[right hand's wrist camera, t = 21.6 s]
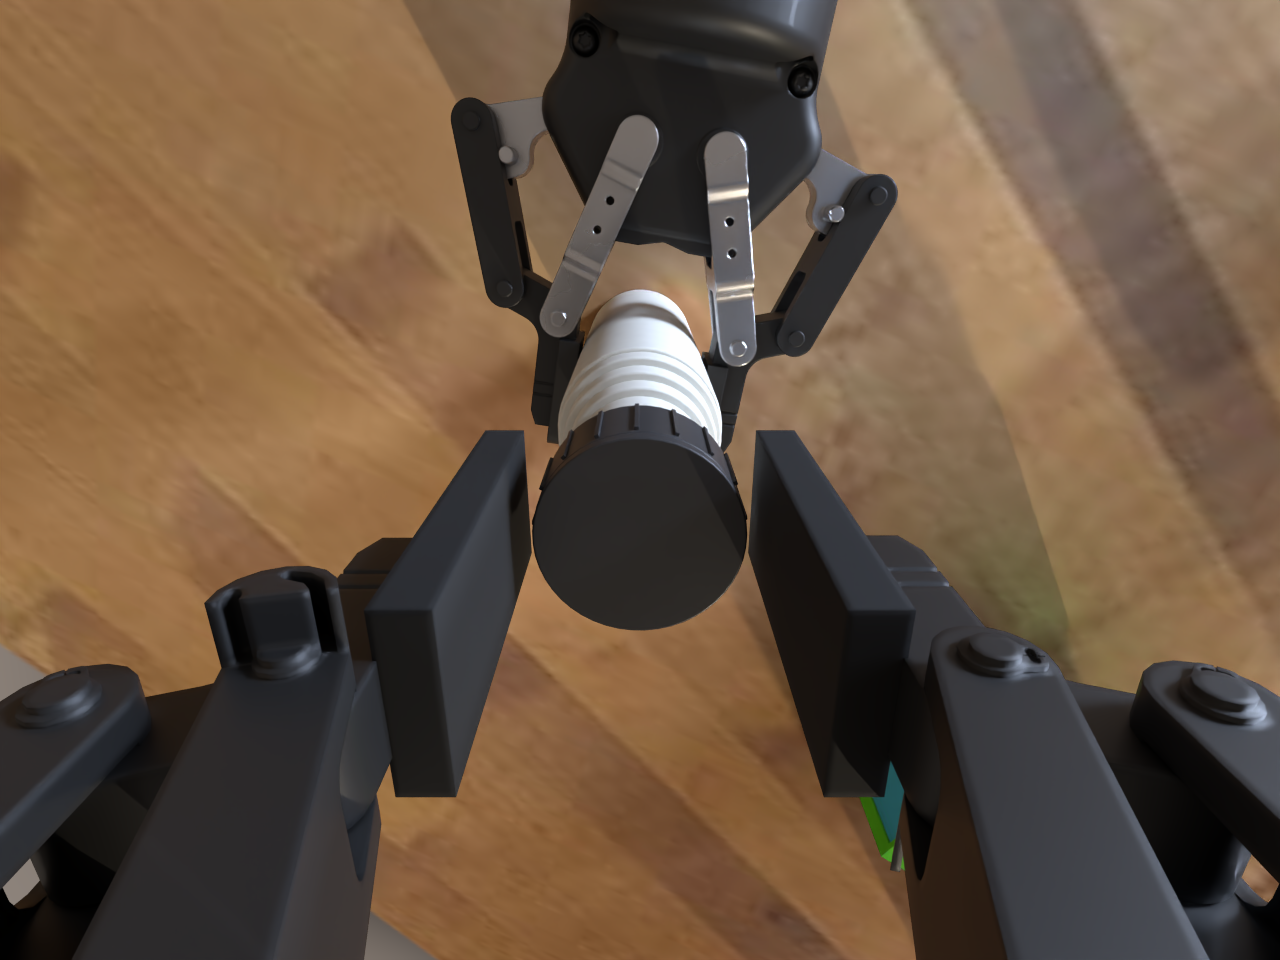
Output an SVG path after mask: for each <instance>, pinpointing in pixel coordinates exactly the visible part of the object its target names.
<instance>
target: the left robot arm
mask: <svg viewBox="0 0 1280 960" xmlns="http://www.w3.org/2000/svg"><path fill="white" fill-rule="evenodd" d="M836 5H837V0H571V4H570V13H569V23H568V32H567V40H566V46H565V50H564V53H563V56H562V59H561V61H560V63H559V65H558V67H557V69H556V71H555V72H554V74H553V75H552V77H551V78H550V80H549V81H548V83H547V85H546V87H545V90H544V93H543V97H537V98H530V99H523V100H517V101H510V102H503V103H496V104H485V103H483V102H482V101H480V100H478V99H476V98H470V97H469V98H464V99H462V100H460V101H458V102H457V103H456V105H455V106H454V108H453V110H452V113H451V124H452V129H453V134H454V139H455V144H456V149H457V153H458V158H459V163H460V168H461V173H462V178H463V183H464V187H465V192H466V197H467V202H468V207H469V212H470V216H471V221H472V226H473V231H474V236H475V241H476V246H477V250H478V255H479V260H480V265H481V270H482V275H483V280H484V284H485V289H486V293H487V296H488V298H489V299H490V300H491V301H492V302H493V303H494V304H495V305H497V306H499V307H503V308H509V309H511V310H513V311H514V312H516V313H518V314H520V315H522V316H523V317H525V318H527V319H528V320H529V321H531V322H532V324H533V325H534V326H535V328H536V330H537V333H538V338H539V342H538V351H537V360H536V369H535V378H534V387H533V396H532V405H531V411H532V415H533V418H534V422H535V424H537V425H544V426H549V427H548V436H547V442H548V443H554V444H559V439H558V417H559V411H560V406H561V403H562V400H563V397H564V395H565V392H566V389H567V387H568V384H569V382H570V379H571V377H572V374H573V372H574V369H575V367H576V364H577V362H578V359H579V357H580V354H581V351H582V349H583V342H584V335H585V332H583V331H579V329H580V321H581V315H582V313H583V311H584V309H585V306H586V304H587V302H588V300H589V298H590V296H591V293H592V291H593V289H594V287H595V285H596V282H597V280H598V278H599V276H600V274H601V272H602V269H603V267H604V265H605V263H606V261H607V259H608V256H609V254H610V252H611V250H612V248H613V246H614V243H615V241H619V242H624V243H630V244H636V245H641V244H651V243H661V242H664V243H667V244H669V245H671V246H673V247H675V248H677V249H679V250H682V251H684V252H686V253H688V254H693V255H699V256H704V263H705V274H706V282H707V287H708V294H709V304H710V315H711V325H712V341H711V346H710V351H709V353H707V352H703V353H702V358H701V359H702V362H703V365H704V367H705V370H706V372H707V375H708V377H709V380H710V383H711V385H712V388H713V390H714V393H715V395H716V398H717V400H718V403H719V407H720V411H721V420H722V433H721V446H720V448H721V450H722V451H723V453H724V451H725V450H726V449H727V447H728V446H729V444H730V443H731V441H732V436H733V432H734V426H735V423H736V418H737V413H738V409H739V405H740V400H741V396H742V391H743V387H744V383H745V378H746V375H747V372H748V370H749V369H750V367H751V366H752V365H753V364H754V363H755V362H757V361H759V360H761V359H763V358H768V357H773V356H779V355H784V354H786V355H788V356H791V357H798V356H801V355H804V354H805V353H807V352H808V351H809V350H810V349H811V347H812V346H813V344H814V342H815V340H816V339H817V337H818V335H819V334H820V332H821V330H822V328H823V327H824V325H825V323H826V322H827V320H828V318H829V316H830V315H831V313H832V311H833V310H834V308H835V306H836V304H837V303H838V301H839V299H840V298H841V296H842V294H843V292H844V291H845V289H846V287H847V286H848V284H849V282H850V280H851V279H852V277H853V275H854V274H855V272H856V270H857V268H858V267H859V265H860V263H861V262H862V260H863V258H864V256H865V255H866V253H867V251H868V249H869V248H870V246H871V244H872V243H873V241H874V239H875V237H876V236H877V234H878V232H879V231H880V229H881V227H882V225H883V224H884V222H885V220H886V219H887V217H888V215H889V213H890V212H891V210H892V208H893V207H894V205H895V203H896V200H897V195H898V191H897V186H896V184H895V182H894V181H893V179H891V178H890V177H889V176H887V175H883V174H866V173H864V172H862V171H860V170H858V169H857V168H855V167H853V166H851V165H850V164H848V163H846V162H844V161H843V160H841V159H839V158H837V157H836V156H834V155H832V154H830V153H829V152H827V151H825V150H823V149H822V148H821V147H822V136H821V130H820V127H819V123H818V118H817V111H816V96H817V89H818V84H819V80H820V75H821V71H822V66H823V62H824V58H825V53H826V49H827V44H828V40H829V35H830V31H831V27H832V22H833V18H834V13H835V9H836ZM546 134H550V136H551V138H552V140H553V142H554V144H555V146H556V148H557V150H558V152H559V155H560V157H561V159H562V161H563V163H564V165H565V167H566V169H567V171H568V173H569V175H570V177H571V179H572V181H573V183H574V185H575V187H576V189H577V191H578V193H579V195H580V197H581V199H582V201H583V203H584V205H585V207H584V210H583V212H582V214H581V217H580V219H579V221H578V224H577V226H576V228H575V231H574V233H573V235H572V237H571V240H570V242H569V244H568V247H567V249H566V252H565V254H564V257H563V260H562V263H561V265H560V268H559V270H558V272H557V275H556V277H555V279H554V282H553V283H551V282H550V281H548V280H546V279H544V278H543V277H541V276H539V275H537V274H536V273H534V272H533V269H532V264H531V258H530V253H529V247H528V242H527V236H526V231H525V225H524V219H523V214H522V208H521V203H520V197H519V192H518V186H517V181H516V179H518V178H522V177H524V176H526V175H527V174H528V173H529V172H530V171H531V169H532V167H533V164H534V148H535V145H536V143H537V142H538V140H539V139H540V138H541V137H542V136H544V135H546ZM802 181H804V182H805V183H806V184H807V186H808V188H809V192H810V201H809V204H808V207H807V210H806V220H807V223H808V225H809V227H810V228H811V229H812V230H814V231H815V233H814V235H813V237H812V238H811V240H810V242H809V244H808V246H807V247H806V249H805V251H804V253H803V255H802V257H801V258H800V260H799V262H798V264H797V266H796V267H795V269H794V271H793V273H792V275H791V277H790V278H789V280H788V282H787V284H786V286H785V287H784V289H783V291H782V293H781V295H780V297H779V298H778V300H777V302H776V304H775V306H774V307H773V309H772V311H771V313H766V314H761V315H756V316H754V302H753V291H754V270H753V256H752V242H751V232H752V231H753V230H754V229H755V228H756V227H757V226H758V225H759V224H760V223H761V222H762V221H763V220H764V219H765V218H766V217H767V216H768V215H769V214H770V213H771V212H772V211H773V210H774V209H775V208H776V207H777V206H778V205H779V204H780V203H781V202H782V201H783V200H784V199H785V198H786V197H787V196H788V195H789V194H790V193H791V192H792V191H793V190H794V189H795V188H796V187H797V186H798V185H799V184H800V183H801V182H802Z"/></svg>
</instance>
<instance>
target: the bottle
mask: <svg viewBox="0 0 1280 960" xmlns="http://www.w3.org/2000/svg"><path fill="white" fill-rule="evenodd" d="M635 403H639V405H648V406H655V407H661V408H665V409H668V410H672V409H675V410H676V412H677V413H679V414H682V415H684V416H686V417H688V418H689V419H691V420H693V421H694V422H696V423H697V424H698V425H700V426H701V427H702V428H703V427H704V426H705V427H706V428H707V430H708V433H709V434H710V435H711V436H712V437H713V438H714V440H715V441H716V442H717V444H718V445H719V446H721V433H722V420H721V411H720V407H719V403H718V400H717V398H716V395H715V393H714V390H713V388H712V385H711V383H710V380H709V377H708V375H707V372H706V370H705V367H704V365H703V362H702V359H701V357H700V354H699V352H698V349H697V347H696V344H695V341H694V339H693V336H692V334H691V331H690V329H689V326H688V324H687V321H686V319H685V317H684V315H683V313H682V312H681V310H680V309H679V308H678V306H677V305H676V304H675V303H674V302H672V301H671V300H670V299H669V298H667V297H665V296H663V295H662V294H659V293H657V292H653V291H650V290H631V291H627V292H623V293H621V294H619V295H616V296H615V297H613V298H612V299H610V300H609V301H608V302H607V303H605V304H604V306H603V307H602V308H601V309H600V310H599V312H598V313H597V315H596V317H595V319H594V321H593V324H592V326H591V329H590V331H589V334H588V336H587V339H586V341H585V344H584V346H583V349H582V351H581V354H580V357H579V359H578V362H577V364H576V367H575V369H574V372H573V374H572V377H571V379H570V382H569V384H568V387H567V389H566V392H565V395H564V397H563V400H562V403H561V406H560V411H559V417H558V439H559V447H560V446H561V444H562V443H563V442H564V440H565V439H566V438H567V435H568V432H569V431H570V430H571V429H572V430H573V431H574V430H575V429H576V428H577V427H578V426H580V425H581V424H582V423H584V422H585V421H587V420H588V419H590V418H592V417H594V416H596V415H597V414H598V412H599V411H603V412H605V411H608V410H611V409H615V408H619V407H624V406H633V405H635Z"/></svg>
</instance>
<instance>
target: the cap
mask: <svg viewBox="0 0 1280 960" xmlns="http://www.w3.org/2000/svg"><path fill="white" fill-rule="evenodd" d="M737 485H738V483H737V480H736V477H735V474H734V471H733V468H732V465H731V462H730V460H729V457H728V454H727V453H725V454H724V453H723V451H722V450H721V448H720V446H719V445H718V444H717V442H716V441H715V440H714V438H713V437H712V436H711V435H710V434H709V433H708V430H707V428H706V427H705V426H704V427H703V428H702V427H701V426H700V425H698V424H697V423H696V422H694V421H693V420H691V419H689V418H688V417H686V416H684V415H682V414H679V413H677V412H676V410H675V409H672V410H668V409H665V408H661V407H655V406H648V405H639V403H635V405H633V406H624V407H619V408H615V409H611V410H608V411H605V412H603V411H599V412H598V414H597V415H596V416H594V417H592V418H590V419H588V420H587V421H585V422H584V423H582V424H581V425H580V426H578V427H577V428H576V429H575V430H574V431H573V430H572V429H571V430H570V431H569V432H568V435H567V438H566V439H565V440H564V442H563V443H562V444H561V446H560V447H559V449H558V451H557V452H556V454H555V456H554V458H550V460H549V462H548V465H547V468H546V471H545V474H544V476H543V479H542V482H541V485H540V488H539V489H540V490H542V492H541V495H540V498H539V501H538V504H537V507H536V511H535V514H534V517H533V520H532V525H533V529H532V537H533V547H534V553H535V557H536V560H537V563H538V566H539V568H540V570H541V572H542V574H543V576H544V578H545V580H546V581H547V583H548V584H549V586H550V587H551V589H552V590H553V591H554V592H555V593H556V594H557V596H558V597H559V598H560V599H561V600H562V601H563V602H565V603H566V604H567V605H568V606H569V607H570V608H572V609H573V610H575V611H576V612H578V613H579V614H581V615H582V616H584V617H586V618H588V619H590V620H592V621H595V622H598V623H600V624H603V625H606V626H610V627H614V628H618V629H626V630H653V629H661V628H665V627H670V626H673V625H676V624H679V623H682V622H685V621H687V620H689V619H691V618H693V617H695V616H697V615H698V614H700V613H702V612H703V611H705V610H706V609H708V608H709V607H710V606H711V605H713V604H714V603H715V602H716V601H717V600H718V599H719V598H720V597H721V596H722V595H723V594H724V593H725V592H726V590H727V589H728V588H729V586H730V585H731V584H732V582H733V581H734V579H735V577H736V575H737V573H738V571H739V569H740V567H741V564H742V561H743V558H744V554H745V550H746V543H747V524H746V520H747V514H746V511H745V508H744V506H743V503H742V500H741V497H740V494H739V491H738V488H737Z"/></svg>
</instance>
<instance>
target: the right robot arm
mask: <svg viewBox="0 0 1280 960" xmlns="http://www.w3.org/2000/svg"><path fill="white" fill-rule="evenodd" d="M531 553H532V550H531V535H530V519H529V504H528V488H527V473H526V457H525V442H524V430H486V431H485V432H484V434H483V435H482V437H481V438H480V440H479V441H478V442H477V444H476V445H475V447H474V448H473V450H472V451H471V453H470V454H469V456H468V457H467V459H466V460H465V462H464V463H463V465H462V466H461V468H460V469H459V470H458V472H457V473H456V475H455V476H454V478H453V479H452V481H451V482H450V484H449V485H448V487H447V488H446V490H445V491H444V493H443V494H442V496H441V497H440V499H439V500H438V501H437V503H436V504H435V506H434V507H433V509H432V510H431V512H430V513H429V515H428V516H427V518H426V519H425V521H424V522H423V524H422V525H421V527H420V528H419V529H418V531H417V532H416V534H415V535H414V537H413V538H382V539H380V540H378V541H377V542H375V543H373V544H372V545H370V546H368V547H367V548H365V549H363V550H362V551H360V552H358V553H357V554H356V556H355V557H354V558H353V559H352V561H351V562H350V563H349V564H348V565H347V567H346V568H345V569H344V570H343V574H340V575H339V577H338V578H337V577H335V576H334V575H333V574H331V573H330V572H329V571H327V570H325V569H320V568H315V567H311V566H287V567H281V568H275V569H270V570H264V571H260V572H257V573H254V574H251V575H248V576H246V577H243V578H240V579H237V580H235V581H233V582H232V583H230V584H228V585H226V586H224V587H223V588H221V589H219V590H217V591H216V592H215V593H214V594H213V595H212V596H211V597H210V598H209V599H208V600H207V601H206V602H205V603H204V604H205V608H206V612H207V615H208V619H209V623H210V626H211V630H212V634H213V638H214V641H215V645H216V649H217V653H218V656H219V660H220V664H221V667H222V668H221V670H220V672H219V674H218V676H217V678H216V680H215V682H214V683H213V684H209V685H205V686H201V687H196V688H190V689H185V690H180V691H175V692H170V693H165V694H160V695H154V696H149V697H145V695H144V692H143V689H142V686H141V683H140V680H139V677H138V675H137V674H136V673H135V672H133V671H132V670H131V669H130V668H128V667H126V666H119V665H112V664H102V665H92V666H80V667H75V668H70V669H68V670H67V671H65V670H62V671H59V672H56V673H53V674H50V675H48V676H46V677H44V678H43V679H41V680H39V681H36V682H34V683H32V684H30V685H27V686H25V687H23V688H21V689H19V690H18V691H16V692H15V693H13V694H11V695H10V696H8V697H7V698H5V699H4V700H2V701H0V960H364V955H365V947H366V939H367V932H368V924H369V916H370V908H371V900H372V893H373V885H374V877H375V869H376V861H377V854H378V846H379V838H380V830H381V818H380V811H379V805H378V800H377V794H376V793H377V791H378V789H379V786H380V784H381V782H382V780H383V778H384V775H385V773H386V771H387V769H388V766H389V764H390V767H391V773H392V779H393V785H394V791H395V796H396V797H456V796H457V792H458V789H459V786H460V783H461V779H462V776H463V773H464V770H465V766H466V763H467V760H468V757H469V754H470V750H471V747H472V744H473V741H474V737H475V734H476V731H477V728H478V724H479V721H480V718H481V715H482V712H483V708H484V705H485V702H486V699H487V695H488V692H489V689H490V686H491V682H492V679H493V676H494V673H495V670H496V666H497V663H498V660H499V657H500V653H501V650H502V647H503V644H504V640H505V637H506V634H507V631H508V628H509V624H510V621H511V618H512V615H513V611H514V608H515V605H516V602H517V598H518V595H519V592H520V589H521V586H522V582H523V579H524V576H525V573H526V569H527V566H528V563H529V560H530V556H531ZM748 553H749V556H750V560H751V563H752V566H753V569H754V573H755V576H756V579H757V582H758V586H759V589H760V592H761V595H762V598H763V602H764V605H765V608H766V611H767V615H768V618H769V621H770V624H771V628H772V631H773V634H774V637H775V640H776V644H777V647H778V650H779V653H780V657H781V660H782V663H783V666H784V670H785V673H786V676H787V679H788V682H789V686H790V689H791V692H792V695H793V699H794V702H795V705H796V708H797V712H798V715H799V718H800V721H801V724H802V728H803V731H804V734H805V737H806V741H807V744H808V747H809V750H810V754H811V757H812V760H813V763H814V766H815V770H816V773H817V776H818V779H819V783H820V786H821V789H822V792H823V796H824V797H885V791H886V785H887V779H888V773H889V767H890V761H891V763H892V765H893V767H894V769H895V772H896V774H897V776H898V778H899V780H900V783H901V785H902V787H903V789H904V794H903V800H902V805H901V811H900V816H899V822H898V827H897V832H896V838H895V843H894V849H893V854H892V861H891V868H890V870H892V871H897V872H900V869H901V864H902V858H903V860H904V868H905V875H906V883H907V891H908V899H909V906H910V914H911V922H912V930H913V937H914V945H915V953H916V960H1280V697H1279V696H1277V695H1275V694H1274V693H1272V692H1271V691H1269V690H1267V689H1266V688H1264V687H1263V686H1261V685H1259V684H1257V683H1255V682H1253V681H1250V680H1248V679H1246V678H1243V677H1241V676H1239V675H1237V674H1236V673H1235V672H1232V671H1230V670H1227V669H1223V668H1220V667H1217V668H1215V667H1213V665H1208V664H1203V663H1192V662H1182V661H1167V662H1160V663H1154V664H1152V665H1151V666H1150V667H1148V668H1147V669H1146V670H1145V671H1143V674H1142V677H1141V680H1140V683H1139V686H1138V689H1137V692H1136V694H1132V693H1127V692H1122V691H1117V690H1112V689H1106V688H1101V687H1096V686H1091V685H1086V684H1080V683H1076V682H1072V681H1068V680H1065V679H1064V677H1063V675H1062V673H1061V671H1060V669H1059V667H1058V666H1057V665H1056V664H1055V662H1054V661H1053V660H1052V659H1051V658H1050V656H1049V655H1048V654H1047V653H1046V652H1044V651H1043V650H1041V649H1040V648H1038V647H1037V646H1035V645H1034V644H1032V643H1031V642H1029V641H1027V640H1025V639H1023V638H1020V637H1018V636H1015V635H1013V634H1010V633H1008V632H1005V631H1001V630H996V629H992V628H987V627H985V626H984V625H983V624H982V623H981V621H980V620H979V619H978V618H977V617H976V615H975V614H974V613H973V612H972V610H971V609H970V608H969V607H968V605H967V604H966V603H965V602H964V601H963V599H962V598H961V597H960V596H959V594H958V593H957V592H956V591H955V590H954V588H953V587H952V586H949V582H948V581H947V580H946V578H945V577H944V576H943V575H942V574H941V572H940V571H937V567H936V566H935V565H934V564H933V562H932V561H931V560H930V559H929V558H928V556H927V555H926V554H925V553H924V551H923V550H921V549H919V548H918V547H916V546H914V545H913V544H911V543H909V542H908V541H906V540H904V539H903V538H901V537H899V536H866V535H865V534H864V532H863V531H862V529H861V528H860V527H859V525H858V524H857V522H856V521H855V519H854V518H853V516H852V515H851V513H850V512H849V510H848V509H847V507H846V506H845V504H844V503H843V501H842V500H841V498H840V497H839V496H838V494H837V493H836V491H835V490H834V488H833V487H832V485H831V484H830V482H829V481H828V479H827V478H826V476H825V475H824V473H823V472H822V470H821V469H820V468H819V466H818V465H817V463H816V462H815V460H814V459H813V457H812V456H811V454H810V453H809V451H808V450H807V448H806V447H805V445H804V444H803V442H802V441H801V439H800V438H799V437H798V435H797V434H796V432H795V431H794V430H756V442H755V458H754V473H753V488H752V504H751V519H750V535H749V550H748ZM1251 854H1252V855H1253V856H1254V857H1255V858H1256V859H1257V860H1258V862H1259V863H1260V864H1261V865H1262V866H1263V867H1264V868H1265V869H1266V870H1267V871H1268V872H1269V873H1270V874H1271V875H1272V876H1273V877H1274V878H1275V880H1276V881H1277V882H1278V883H1279V885H1278V888H1277V890H1276V892H1275V894H1274V896H1273V898H1272V899H1271V901H1270V902H1269V903H1268V902H1265V901H1264V900H1263V899H1262V898H1261V897H1259V896H1258V895H1257V894H1256V893H1255V892H1254V891H1253V890H1252V889H1251V888H1250V887H1249V886H1248V885H1247V883H1246V882H1245V881H1244V880H1243V879H1242V878H1241V877H1242V875H1243V872H1244V870H1245V868H1246V866H1247V863H1248V861H1249V859H1250V857H1251ZM29 859H31V861H32V863H33V866H34V868H35V870H36V872H37V875H38V877H39V879H40V881H39V882H38V883H37V884H36V886H35V887H34V888H33V889H32V890H31V891H30V892H29V893H28V895H26V896H25V897H24V898H23V899H21V900H20V901H19V902H18V903H16V904H15V905H13V904H11V903H10V902H9V900H8V898H7V896H6V894H5V892H4V890H3V888H2V887H3V886H4V885H5V884H6V883H7V882H8V881H9V880H10V879H11V878H12V877H13V876H14V875H15V873H16V872H17V871H18V870H19V869H20V868H21V867H22V866H23V865H24V864H25V863H26V862H27V861H28V860H29Z"/></svg>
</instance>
